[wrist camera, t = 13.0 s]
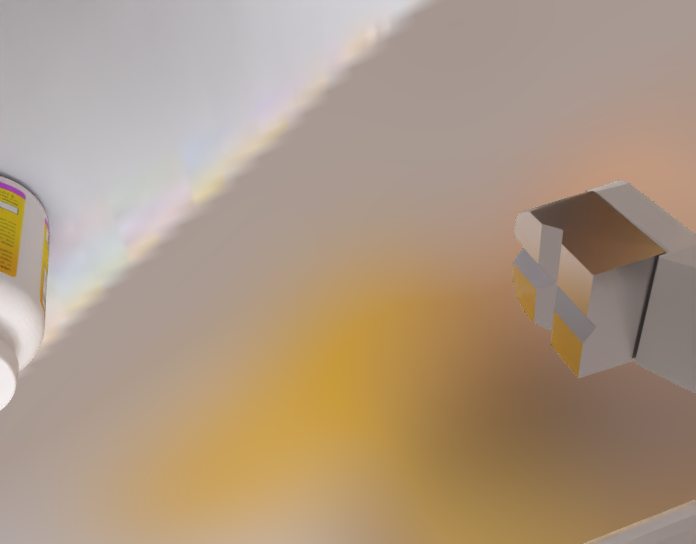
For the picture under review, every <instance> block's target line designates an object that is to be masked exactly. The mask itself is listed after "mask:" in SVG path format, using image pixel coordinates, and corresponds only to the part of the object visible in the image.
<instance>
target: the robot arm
mask: <svg viewBox="0 0 696 544" xmlns="http://www.w3.org/2000/svg"><path fill="white" fill-rule="evenodd" d="M514 237H515V238H516V239H517V241H518V242H519V243H520V244H521V245H522V246H523V248H522V250H521V251H520V253H519V254H518V256H517V257H516V259H515V260H514V262H513V283H514V287H515V290H516V294H517V298H518V300H519V302H520V304H521V306H522V308H523V310H524V312H525V313H526V314H527V316H528V317H529V318H530V320H531V321H532V322H533V323H534V324H536V325H538V326H541V327H543V328H546V329H548V330H551V331H552V339H551V346H552V347H553V348H554V349H555V351H556V352H557V353H558V354H559V356H560V357H561V358H562V359H563V361H564V362H565V363H566V364H567V365H568V367H569V368H570V369H571V370H572V372H573V373H574V374H575V375H576V377H577V378H581V377H584V376H587V375H590V374H593V373H596V372H600V371H603V370H606V369H609V368H612V367H615V366H619V365H622V364H625V363H628V362H631V361H634V360H635V364H637V365H639V366H641V367H643V368H645V369H647V370H649V371H651V372H653V373H655V374H657V375H659V376H661V377H663V378H665V379H667V380H669V381H671V382H673V383H674V384H677V385H678V386H680V387H683V388H684V389H686V390H689V391H690V392H693V393H694V394H696V234H695V233H694V232H692V231H691V230H690V229H688V228H687V227H686V226H684V225H683V224H682V223H681V222H679V221H678V220H677V219H675V218H674V217H673V216H671V215H670V214H669V213H667V212H666V211H665V210H663V209H662V208H661V207H660V206H658V205H657V204H656V203H654V202H653V201H652V200H651V199H649V198H648V197H647V196H645V195H644V194H643V193H641V192H640V191H639V190H637V189H636V188H635V187H634V186H632V185H631V184H630V183H627V182H623V181H615V182H612V183H609V184H606V185H603V186H600V187H597V188H593V189H590V190H588V191H585V193H581V194H578V195H574V196H571V197H567V198H564V199H561V200H558V201H554V202H551V203H548V204H545V205H541V206H538V207H535V208H531V209H528V210H525V211H522V212H519V214H518V217H517V219H516V221H515V233H514ZM583 544H696V499H695V500H693V501H690V502H687V503H685V504H682V505H680V506H678V507H675V508H672V509H670V510H667V511H665V512H662V513H660V514H657V515H655V516H652V517H649V518H647V519H644V520H642V521H639V522H637V523H634V524H632V525H629V526H627V527H624V528H622V529H619V530H616V531H614V532H611V533H609V534H606V535H604V536H601V537H599V538H596V539H593V540H591V541H588V542H586V543H583Z"/></svg>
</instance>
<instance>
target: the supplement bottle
mask: <svg viewBox="0 0 696 544" xmlns="http://www.w3.org/2000/svg"><path fill="white" fill-rule="evenodd" d="M48 254H49V222H48V218H47V215H46V213H45V210H44V208H43V207H42V205H41V204H40V202H39V201H38V200H37V198H36V197H35V196H34V195H33V194H32V193H31V192H29V191H28V190H27V189H26V188H24V187H23V186H21V185H20V184H18V183H16V182H14V181H12V180H10V179H7V178H4V177H2V176H0V410H1V409H3V408H4V407H5V406H6V405H7V404H8V403H9V401H10V400H11V398H12V397H13V394H14V392H15V389H16V383H17V377H18V372H19V371H21V370H22V369H23V368H24V367H25V366H27V365H28V364H29V362H30V361H31V360H32V359H33V358H34V357H35V355H36V353H37V352H38V350H39V348H40V346H41V343H42V340H43V336H44V329H45V309H46V289H47V273H48Z"/></svg>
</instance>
